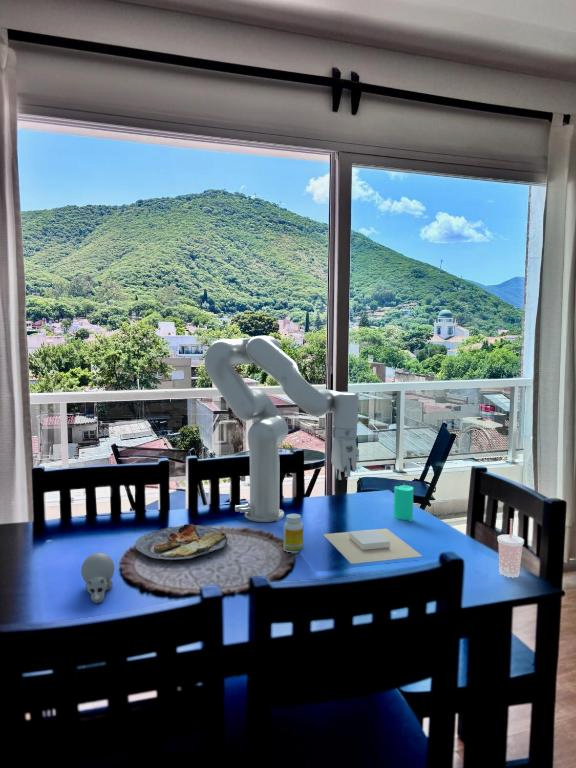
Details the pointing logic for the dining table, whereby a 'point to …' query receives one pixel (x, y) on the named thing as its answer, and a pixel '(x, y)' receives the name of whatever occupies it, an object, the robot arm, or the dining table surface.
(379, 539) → the tile
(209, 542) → the food plate
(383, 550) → the cork mat
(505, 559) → the beverage cup
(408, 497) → the candle
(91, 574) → the round bodied animal figurine
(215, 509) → the dining table surface
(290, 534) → the supplement bottle
